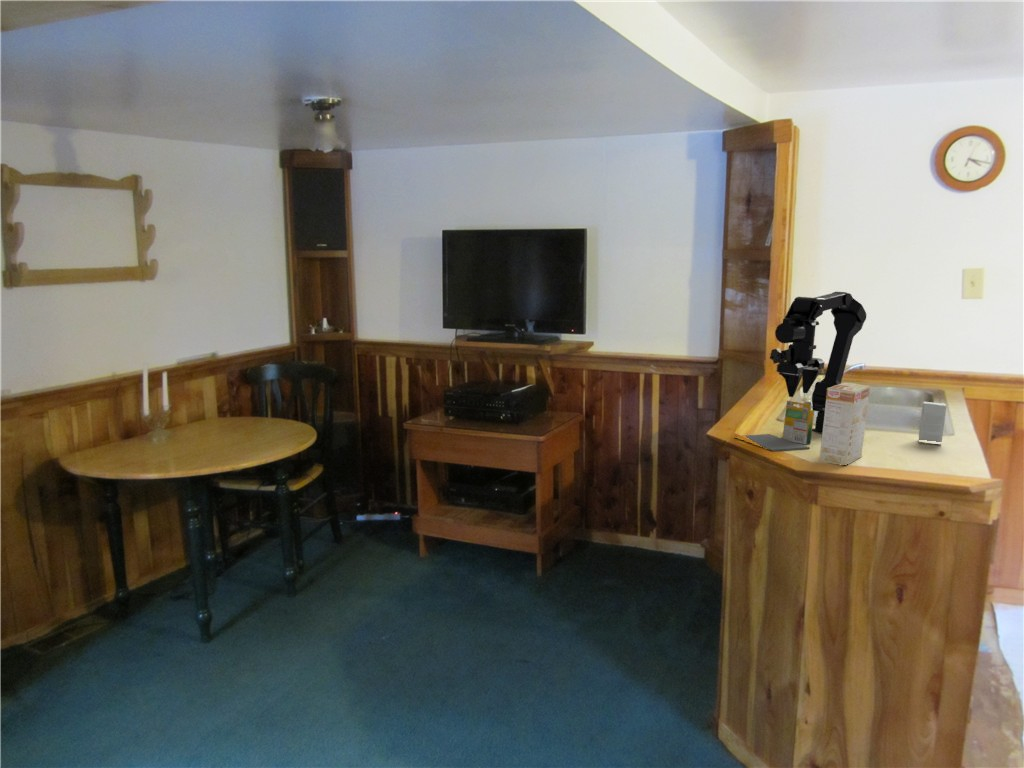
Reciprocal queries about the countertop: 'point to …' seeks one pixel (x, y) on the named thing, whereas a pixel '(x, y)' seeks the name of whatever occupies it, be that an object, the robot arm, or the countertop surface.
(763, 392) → the countertop surface
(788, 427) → the crayon box
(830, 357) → the robot arm
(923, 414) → the skincare box
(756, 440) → the mat
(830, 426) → the coffeecake box
